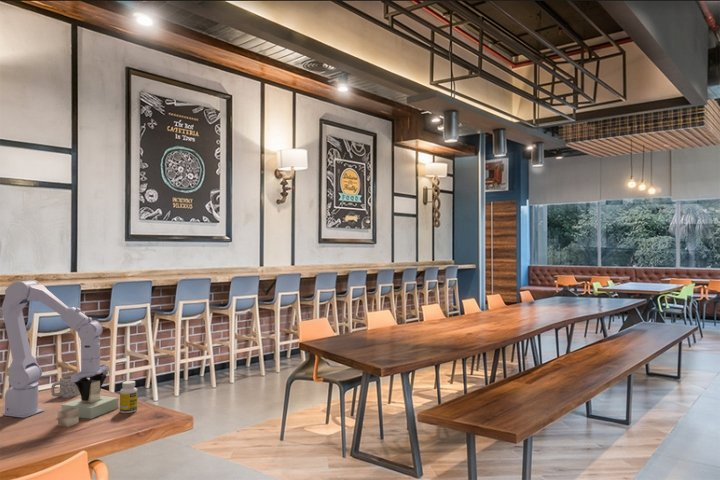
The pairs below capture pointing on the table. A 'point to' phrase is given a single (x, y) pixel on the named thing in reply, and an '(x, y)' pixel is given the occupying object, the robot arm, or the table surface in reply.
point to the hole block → (93, 406)
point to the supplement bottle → (128, 397)
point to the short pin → (68, 417)
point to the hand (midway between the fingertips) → (90, 398)
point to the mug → (66, 388)
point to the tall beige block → (93, 393)
